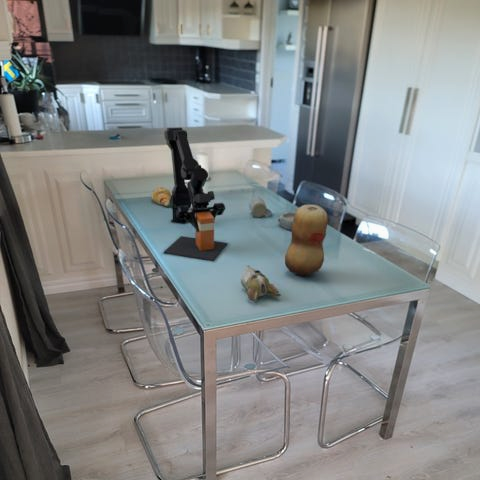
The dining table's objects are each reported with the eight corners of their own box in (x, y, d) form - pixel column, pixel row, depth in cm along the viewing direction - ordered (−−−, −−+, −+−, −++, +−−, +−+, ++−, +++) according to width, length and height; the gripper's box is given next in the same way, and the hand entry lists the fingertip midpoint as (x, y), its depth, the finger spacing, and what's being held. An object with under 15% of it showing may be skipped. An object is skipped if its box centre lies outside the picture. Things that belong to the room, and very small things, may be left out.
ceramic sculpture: (261, 258, 159) (284, 279, 148) (259, 281, 164) (281, 302, 153) (233, 263, 155) (254, 285, 144) (232, 286, 159) (252, 309, 149)
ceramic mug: (251, 218, 221) (252, 202, 217) (248, 212, 228) (249, 196, 224) (273, 218, 222) (275, 202, 218) (269, 212, 229) (271, 197, 225)
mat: (163, 253, 181) (163, 251, 181) (181, 237, 196) (181, 236, 196) (212, 261, 177) (212, 259, 177) (227, 244, 192) (227, 242, 192)
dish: (316, 227, 214) (317, 216, 212) (297, 234, 205) (298, 223, 203) (290, 218, 223) (291, 208, 220) (272, 225, 214) (273, 214, 211)
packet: (195, 243, 188) (195, 212, 181) (208, 242, 190) (209, 211, 183) (200, 250, 184) (200, 219, 176) (213, 249, 185) (214, 217, 178)
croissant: (174, 214, 231) (181, 199, 229) (156, 206, 225) (163, 191, 223) (160, 200, 247) (166, 186, 245) (143, 193, 241) (149, 179, 238)
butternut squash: (295, 284, 163) (303, 214, 150) (277, 269, 173) (283, 202, 160) (329, 279, 168) (339, 211, 155) (309, 264, 178) (318, 199, 166)
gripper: (177, 185, 174) (186, 223, 171) (224, 182, 181) (234, 219, 178) (172, 200, 185) (180, 236, 182) (217, 196, 191) (226, 231, 188)
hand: (205, 230), depth 182 cm, fingers closed on packet, 5 cm apart
